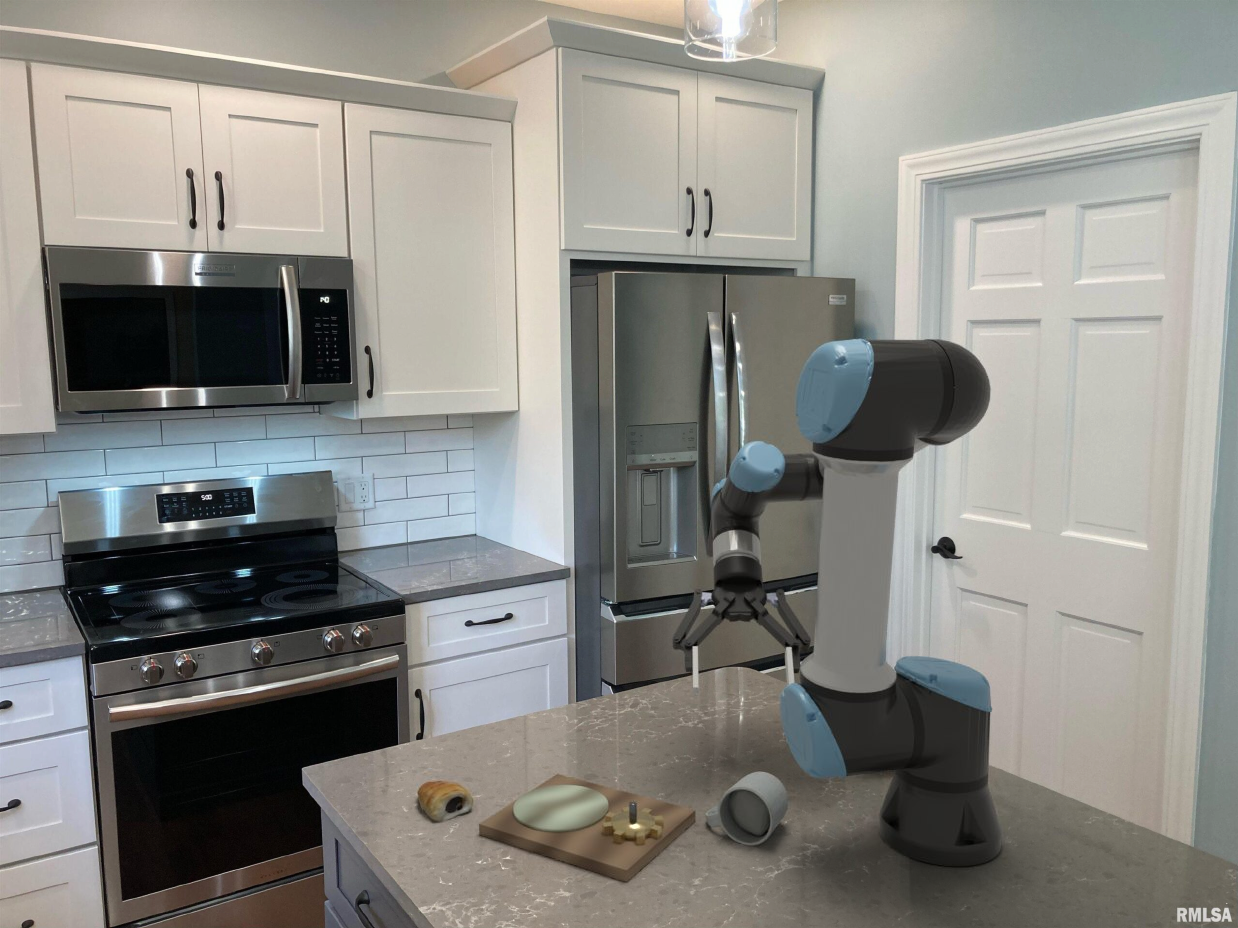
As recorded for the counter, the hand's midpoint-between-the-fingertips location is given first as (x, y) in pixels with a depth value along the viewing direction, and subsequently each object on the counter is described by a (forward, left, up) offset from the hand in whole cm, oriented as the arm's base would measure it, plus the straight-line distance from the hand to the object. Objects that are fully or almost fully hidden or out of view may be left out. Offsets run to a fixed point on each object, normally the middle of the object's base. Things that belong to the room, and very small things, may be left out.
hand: (743, 692), depth 136 cm
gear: (+7, +20, -14) cm, 25 cm away
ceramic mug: (-5, +10, -16) cm, 19 cm away
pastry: (+35, +25, -16) cm, 46 cm away
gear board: (+14, +20, -15) cm, 28 cm away
